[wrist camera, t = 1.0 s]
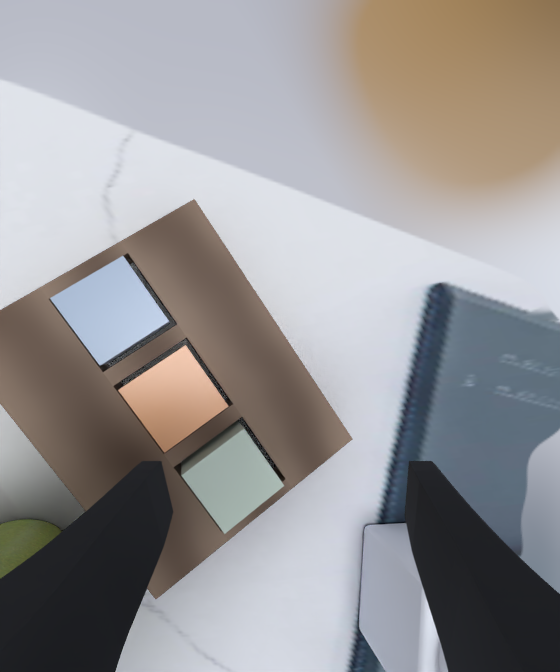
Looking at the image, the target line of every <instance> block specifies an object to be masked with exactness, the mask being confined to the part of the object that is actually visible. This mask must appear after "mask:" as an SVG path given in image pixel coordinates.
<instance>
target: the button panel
mask: <svg viewBox="0 0 560 672" xmlns="http://www.w3.org/2000/svg"><path fill="white" fill-rule="evenodd" d="M122 256H124V258H125V259H126V261H127V262H128V263H129V265H130V264H131V263H133V262H134V264H135V265H136V267H137V268H138V269H139V271H140V272H141V274H142V275H143V277H144V278H145V279H146V281H147V282H148V284H149V285H150V287H151V288H152V289H153V291H154V292H155V294H156V295H157V297H158V298H159V300H160V301H161V302H162V304H163V305H164V307H165V308H166V310H167V311H168V312H169V314H170V315H171V317H172V318H173V320H174V321H175V322H176V324H177V325H175V326H174V327H172V328H171V329H169V330H167V331H166V332H164V333H163V334H161V335H160V336H158V337H157V338H155V339H154V340H152V341H150V342H149V343H147V344H146V345H144V346H143V347H141V348H140V349H138V350H137V351H135V352H133V353H132V354H130V355H129V356H127V357H126V358H124V359H123V360H121V361H120V362H118V363H116V364H115V365H113V366H112V367H109V365H108V364H104V365H101V366H100V365H99V364H98V362H97V361H96V360H95V358H94V357H93V356H92V354H91V353H90V352H89V350H88V349H87V348H86V346H85V345H84V344H83V342H82V341H81V340H80V338H79V337H78V335H77V334H76V333H75V331H74V330H73V329H72V327H71V326H70V325H69V323H68V322H67V321H66V319H65V318H64V317H63V315H62V314H61V313H60V311H59V310H58V309H57V307H56V306H55V304H54V303H53V302H52V300H51V299H50V298H51V297H53V296H55V295H56V294H58V293H60V292H61V291H63V290H65V289H67V288H68V287H70V286H72V285H73V284H75V283H77V282H79V281H80V280H82V279H84V278H86V277H87V276H89V275H91V274H92V273H94V272H96V271H98V270H99V269H101V268H103V267H104V266H106V265H108V264H110V263H111V262H113V261H115V260H116V259H118V258H120V257H122ZM185 338H187V340H188V341H189V342H190V344H191V345H192V347H193V348H194V350H195V351H196V352H197V354H198V355H199V357H200V358H201V360H202V361H203V362H204V364H205V365H206V367H207V368H208V370H209V371H210V373H211V374H212V375H213V377H214V378H215V380H216V381H217V383H218V384H219V385H220V387H221V388H222V390H223V391H224V393H225V394H226V395H227V397H228V398H227V399H226V400H225V402H226V403H227V405H228V407H227V408H226V409H224V410H223V411H221V412H220V413H219V414H217V415H216V416H215V417H213V418H212V419H210V420H209V421H208V422H206V423H205V424H204V425H202V426H201V427H199V428H198V429H197V430H195V431H194V432H193V433H191V434H190V435H188V436H187V437H186V438H184V439H183V440H181V441H180V442H179V443H177V444H176V445H175V446H173V447H172V448H170V449H169V450H168V451H166V452H165V453H164V451H163V450H162V449H161V447H160V446H159V445H158V443H157V442H156V441H155V439H154V438H153V437H152V435H151V434H150V433H149V431H148V430H147V429H146V427H145V426H144V424H143V423H142V422H141V420H140V419H139V418H138V416H137V415H136V414H135V412H134V411H133V410H132V408H131V407H130V406H129V404H128V403H127V402H126V400H125V399H124V398H123V396H122V395H121V393H120V392H119V391H118V390H119V389H120V388H121V387H123V384H122V383H121V382H120V381H122V380H123V379H125V378H126V377H128V376H129V375H131V374H132V373H134V372H135V371H137V370H138V369H140V368H141V367H143V366H144V365H146V364H148V363H149V362H151V361H152V360H154V359H155V358H157V357H158V356H160V355H161V354H163V353H164V352H166V351H167V350H169V349H170V348H172V347H173V346H175V345H176V344H178V343H179V342H181V341H182V340H184V339H185ZM0 404H1V405H2V406H3V408H4V409H5V410H6V411H7V413H8V414H9V415H10V417H11V418H12V419H13V420H14V422H15V423H16V424H17V425H18V427H19V428H20V429H21V430H22V432H23V433H24V434H25V435H26V437H27V438H28V439H29V440H30V442H31V443H32V444H33V445H34V447H35V448H36V449H37V451H38V452H39V453H40V454H41V456H42V457H43V458H44V459H45V461H46V462H47V463H48V464H49V466H50V467H51V468H52V469H53V471H54V472H55V473H56V474H57V476H58V477H59V478H60V479H61V481H62V482H63V483H64V485H65V486H66V487H67V488H68V490H69V491H70V492H71V493H72V495H73V496H74V497H75V498H76V500H77V501H78V502H79V503H80V505H81V506H82V507H83V508H84V510H85V511H87V510H88V509H89V508H90V507H92V506H93V505H94V504H95V503H96V502H97V501H98V500H99V499H100V498H102V497H103V496H104V495H105V494H106V493H107V492H108V491H109V490H110V489H112V488H113V487H114V486H115V485H116V484H117V483H118V482H119V481H120V480H121V479H122V478H123V477H125V476H126V475H127V474H128V473H129V472H130V471H131V470H132V469H133V468H134V467H136V466H137V465H138V464H139V463H140V462H141V461H162V465H163V470H164V474H165V478H166V483H167V487H168V491H169V495H170V500H171V504H172V508H173V515H172V519H171V523H170V527H169V531H168V534H167V537H166V541H165V544H164V547H163V550H162V552H161V555H160V558H159V560H158V562H157V565H156V567H155V570H154V572H153V575H152V577H151V580H150V582H149V584H148V587H147V589H148V590H149V592H150V593H151V594H152V595H153V597H154V598H155V599H157V598H158V597H160V596H161V595H162V594H163V593H165V592H166V591H167V590H168V589H169V588H171V587H172V586H173V585H174V584H176V583H177V582H178V581H179V580H180V579H182V578H183V577H184V576H185V575H187V574H188V573H189V572H190V571H191V570H193V569H194V568H195V567H196V566H198V565H199V564H200V563H201V562H203V561H204V560H205V559H206V558H207V557H209V556H210V555H211V554H212V553H214V552H215V551H216V550H217V549H218V548H220V547H221V546H222V545H223V544H225V543H226V542H227V541H228V540H230V539H231V538H232V537H233V536H234V535H236V534H237V533H238V532H239V531H241V530H242V529H243V528H244V527H245V526H247V525H248V524H249V523H250V522H252V521H253V520H254V519H255V518H256V517H258V516H259V515H260V514H261V513H263V512H264V511H265V510H266V509H268V508H269V507H270V506H271V505H272V504H274V503H275V502H276V501H277V500H279V499H280V498H281V497H282V496H283V495H285V494H286V493H287V492H288V491H290V490H291V489H292V488H293V487H295V486H296V485H297V484H298V483H299V482H301V481H302V480H303V479H304V478H306V477H307V476H308V475H309V474H310V473H312V472H313V471H314V470H315V469H317V468H318V467H319V466H320V465H321V464H323V463H324V462H325V461H326V460H328V459H329V458H330V457H331V456H333V455H334V454H335V453H336V452H337V451H339V450H340V449H341V448H342V447H344V446H345V445H346V444H347V443H348V442H350V441H351V440H352V438H351V436H350V435H349V433H348V432H347V430H346V428H345V427H344V425H343V424H342V422H341V421H340V419H339V418H338V416H337V415H336V413H335V412H334V410H333V409H332V407H331V406H330V404H329V403H328V401H327V400H326V398H325V397H324V395H323V394H322V392H321V391H320V389H319V387H318V386H317V384H316V383H315V381H314V380H313V378H312V377H311V375H310V374H309V372H308V371H307V369H306V368H305V366H304V365H303V363H302V362H301V360H300V359H299V357H298V356H297V354H296V353H295V351H294V350H293V348H292V346H291V345H290V343H289V342H288V340H287V339H286V337H285V336H284V334H283V333H282V331H281V330H280V328H279V327H278V325H277V324H276V322H275V321H274V319H273V318H272V316H271V315H270V313H269V312H268V310H267V309H266V307H265V306H264V304H263V302H262V301H261V299H260V298H259V296H258V295H257V293H256V292H255V290H254V289H253V287H252V286H251V284H250V283H249V281H248V280H247V278H246V277H245V275H244V274H243V272H242V271H241V269H240V268H239V266H238V265H237V263H236V261H235V260H234V258H233V257H232V255H231V254H230V252H229V251H228V249H227V248H226V246H225V245H224V243H223V242H222V240H221V239H220V237H219V236H218V234H217V233H216V231H215V230H214V228H213V227H212V225H211V224H210V222H209V221H208V219H207V217H206V216H205V214H204V213H203V211H202V210H201V208H200V207H199V205H198V204H197V202H196V201H195V199H194V200H192V201H190V202H189V203H187V204H185V205H183V206H182V207H180V208H178V209H176V210H175V211H173V212H171V213H169V214H168V215H166V216H164V217H162V218H161V219H159V220H157V221H155V222H154V223H152V224H150V225H148V226H147V227H145V228H143V229H141V230H140V231H138V232H136V233H134V234H133V235H131V236H129V237H127V238H126V239H124V240H122V241H120V242H119V243H117V244H115V245H113V246H112V247H110V248H108V249H106V250H105V251H103V252H101V253H99V254H98V255H96V256H94V257H92V258H91V259H89V260H87V261H85V262H84V263H82V264H80V265H78V266H77V267H75V268H73V269H71V270H70V271H68V272H66V273H64V274H63V275H61V276H59V277H58V278H56V279H54V280H52V281H51V282H49V283H47V284H45V285H44V286H42V287H40V288H38V289H37V290H35V291H33V292H31V293H30V294H28V295H26V296H24V297H23V298H21V299H19V300H17V301H16V302H14V303H12V304H10V305H9V306H7V307H5V308H3V309H2V310H0ZM241 417H242V418H243V420H244V421H245V423H246V424H247V425H248V427H249V428H250V430H251V431H252V433H253V434H254V435H255V437H256V438H257V440H258V441H259V443H260V444H261V446H262V447H263V448H264V450H265V451H266V453H267V454H268V456H269V457H270V458H271V460H272V461H273V463H274V464H275V467H274V468H272V469H273V470H274V472H275V473H276V475H277V476H278V477H279V479H280V480H281V482H282V483H283V485H284V486H283V487H282V488H281V489H280V490H278V491H277V492H276V493H275V494H274V495H272V496H271V497H270V498H269V499H267V500H266V501H265V502H264V503H262V504H261V505H260V506H259V507H257V508H256V509H255V510H254V511H252V512H251V513H250V514H249V515H248V516H246V517H245V518H244V519H243V520H241V521H240V522H239V523H238V524H236V525H235V526H234V527H233V528H231V529H230V530H229V531H228V532H227V533H225V534H224V532H223V531H222V530H221V528H220V527H219V526H218V524H217V523H216V522H215V520H214V519H213V518H212V516H211V515H210V513H209V512H208V511H207V509H206V508H205V507H204V505H203V504H202V503H201V501H200V500H199V499H198V497H197V496H196V495H195V493H194V492H193V491H192V489H191V488H190V487H189V485H188V484H187V482H186V481H185V480H184V478H183V477H182V476H181V463H180V462H181V461H183V460H184V459H186V458H187V457H188V456H190V455H191V454H192V453H194V452H195V451H196V450H198V449H199V448H200V447H202V446H203V445H204V444H206V443H207V442H209V441H210V440H211V439H213V438H214V437H215V436H217V435H218V434H219V433H221V432H222V431H223V430H225V429H226V428H227V427H229V426H230V425H232V424H233V423H234V422H236V421H237V420H238V419H240V418H241Z"/></svg>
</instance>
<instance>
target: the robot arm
mask: <svg viewBox="0 0 560 672" xmlns="http://www.w3.org/2000/svg"><path fill="white" fill-rule="evenodd" d="M172 515H173V508H172V504H171V500H170V495H169V491H168V487H167V483H166V478H165V474H164V470H163V465H162V461H141V462H140V463H139V464H138V465H137V466H136V467H134V468H133V469H132V470H131V471H130V472H129V473H128V474H127V475H126V476H125V477H123V478H122V479H121V480H120V481H119V482H118V483H117V484H116V485H115V486H114V487H113V488H112V489H110V490H109V491H108V492H107V493H106V494H105V495H104V496H103V497H102V498H100V499H99V500H98V501H97V502H96V503H95V504H94V505H93V506H92V507H90V508H89V509H88V510H87V511H86V512H85V513H84V514H83V515H81V516H80V517H79V518H78V519H77V520H75V521H74V522H73V523H72V524H71V525H69V526H68V527H67V528H66V529H65V530H63V531H62V532H61V533H60V534H59V535H57V536H56V537H55V538H54V539H53V540H51V541H50V542H49V543H48V544H46V545H45V546H44V547H43V548H41V549H40V550H39V551H37V552H36V553H35V554H33V555H32V556H31V557H30V558H28V559H27V560H25V561H24V562H23V563H21V564H20V565H19V566H17V567H16V568H14V569H13V570H12V571H10V572H9V573H8V574H6V575H5V576H3V577H2V578H0V672H115V671H116V668H117V664H118V661H119V658H120V655H121V652H122V649H123V646H124V644H125V641H126V638H127V636H128V633H129V630H130V628H131V625H132V623H133V621H134V618H135V616H136V613H137V611H138V609H139V606H140V604H141V601H142V599H143V596H144V594H145V592H146V589H147V587H148V584H149V582H150V580H151V577H152V575H153V572H154V570H155V567H156V565H157V562H158V560H159V558H160V555H161V552H162V550H163V547H164V544H165V541H166V537H167V534H168V531H169V527H170V523H171V519H172ZM405 519H406V525H407V530H408V535H409V540H410V545H411V549H412V554H413V557H414V560H415V564H416V567H417V570H418V573H419V576H420V580H421V583H422V586H423V589H424V592H425V596H426V599H427V602H428V605H429V608H430V611H431V615H432V618H433V621H434V624H435V627H436V630H437V634H438V637H439V640H440V643H441V647H442V650H443V654H444V657H445V661H446V665H447V668H448V672H560V594H559V593H558V592H557V591H556V590H554V589H553V588H552V587H551V586H550V585H549V584H548V583H547V582H545V581H544V580H543V579H542V578H541V577H540V576H539V575H538V574H537V573H535V572H534V571H533V570H532V569H531V568H530V567H529V566H528V565H527V564H526V563H525V562H524V561H523V560H522V559H521V558H520V557H519V556H518V555H517V554H515V553H514V552H513V551H512V550H511V549H510V548H509V547H508V546H507V545H506V544H505V543H504V542H503V541H502V540H501V539H500V538H499V536H498V535H497V534H496V533H495V532H494V531H493V530H492V529H491V528H490V527H489V526H488V525H487V524H486V523H485V522H484V521H483V520H482V518H481V517H480V516H479V515H478V514H477V513H476V512H475V511H474V510H473V509H472V508H471V506H470V505H469V504H468V503H467V502H466V501H465V500H464V498H463V497H462V496H461V495H460V494H459V493H458V491H457V490H456V489H455V488H454V487H453V486H452V484H451V483H450V482H449V481H448V480H447V478H446V477H445V476H444V475H443V474H442V472H441V471H440V470H439V469H438V467H437V466H436V465H435V464H434V463H433V462H432V461H409V468H408V481H407V493H406V505H405Z"/></svg>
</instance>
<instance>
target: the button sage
mask: <svg viewBox="0 0 560 672" xmlns="http://www.w3.org/2000/svg"><path fill="white" fill-rule="evenodd" d="M181 476H182V477H183V478H184V480H185V481H186V482H187V484H188V485H189V487H190V488H191V489H192V491H193V492H194V493H195V495H196V496H197V497H198V499H199V500H200V501H201V503H202V504H203V505H204V507H205V508H206V509H207V511H208V512H209V513H210V515H211V516H212V518H213V519H214V520H215V522H216V523H217V524H218V526H219V527H220V528H221V530H222V531H223V532H224V534H225V533H227V532H228V531H229V530H230V529H231V528H233V527H234V526H235V525H236V524H238V523H239V522H240V521H241V520H243V519H244V518H245V517H246V516H248V515H249V514H250V513H251V512H252V511H254V510H255V509H256V508H257V507H259V506H260V505H261V504H262V503H264V502H265V501H266V500H267V499H269V498H270V497H271V496H272V495H274V494H275V493H276V492H277V491H278V490H280V489H281V488H282V487H283V486H284V485H283V483H282V482H281V480H280V479H279V477H278V476H277V475H276V473H275V472H274V470H273V469H272V467H271V466H270V465H269V463H268V462H267V460H266V459H265V457H264V456H263V455H262V453H261V452H260V450H259V449H258V447H257V446H256V445H255V443H254V442H253V440H252V439H251V437H250V436H249V435H248V433H247V432H246V430H245V429H244V428H243V426H242V425H241V423H240V422H239V421H238V420H237V421H236V422H234V423H233V424H232V425H230V426H229V427H228V428H226V429H225V430H223V431H222V432H221V433H219V434H218V435H217V436H215V437H214V438H213V439H211V440H210V441H209V442H207V443H206V444H205V445H203V446H202V447H200V448H199V449H198V450H196V451H195V452H194V453H192V454H191V455H190V456H188V457H187V458H186V459H184V460H183V461H182V462H181Z"/></svg>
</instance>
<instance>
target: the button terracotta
mask: <svg viewBox="0 0 560 672" xmlns="http://www.w3.org/2000/svg"><path fill="white" fill-rule="evenodd" d="M118 391H119V392H120V393H121V395H122V396H123V398H124V399H125V400H126V402H127V403H128V404H129V406H130V407H131V408H132V410H133V411H134V412H135V414H136V415H137V416H138V418H139V419H140V420H141V422H142V423H143V424H144V426H145V427H146V429H147V430H148V431H149V433H150V434H151V435H152V437H153V438H154V439H155V441H156V442H157V443H158V445H159V446H160V447H161V449H162V450H163V451H164V453H165V452H166V451H168V450H169V449H170V448H172V447H173V446H175V445H176V444H177V443H179V442H180V441H181V440H183V439H184V438H186V437H187V436H188V435H190V434H191V433H193V432H194V431H195V430H197V429H198V428H199V427H201V426H202V425H204V424H205V423H206V422H208V421H209V420H210V419H212V418H213V417H215V416H216V415H217V414H219V413H220V412H221V411H223V410H224V409H226V408H227V407H228V405H227V403H226V402H225V400H224V399H223V398H222V396H221V395H220V393H219V392H218V390H217V389H216V388H215V386H214V385H213V383H212V382H211V380H210V379H209V378H208V376H207V375H206V373H205V372H204V370H203V369H202V368H201V366H200V365H199V363H198V362H197V360H196V359H195V358H194V356H193V355H192V353H191V352H190V350H189V349H188V348H187V346H186V345H184V346H183V347H181V348H180V349H178V350H177V351H175V352H174V353H172V354H171V355H169V356H168V357H166V358H165V359H163V360H162V361H160V362H159V363H157V364H156V365H154V366H153V367H151V368H149V369H148V370H146V371H145V372H143V373H142V374H140V375H139V376H137V377H136V378H134V379H133V380H131V381H130V382H128V383H127V384H125V385H124V386H123V387H121V388H120V389H119V390H118Z"/></svg>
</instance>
